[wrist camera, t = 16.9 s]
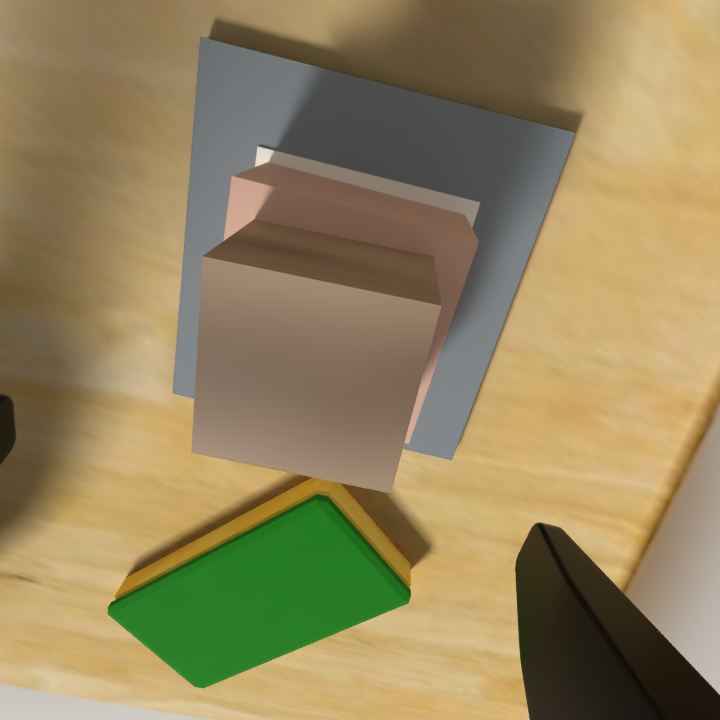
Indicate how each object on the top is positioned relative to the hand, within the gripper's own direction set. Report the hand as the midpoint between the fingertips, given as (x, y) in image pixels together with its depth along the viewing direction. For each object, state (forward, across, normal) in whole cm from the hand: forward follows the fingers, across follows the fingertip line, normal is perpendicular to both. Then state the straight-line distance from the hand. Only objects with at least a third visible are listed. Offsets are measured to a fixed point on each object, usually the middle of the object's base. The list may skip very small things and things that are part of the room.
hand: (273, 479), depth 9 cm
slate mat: (+12, 0, 0) cm, 12 cm away
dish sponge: (+13, +1, +16) cm, 21 cm away
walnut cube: (+7, 0, 0) cm, 7 cm away
